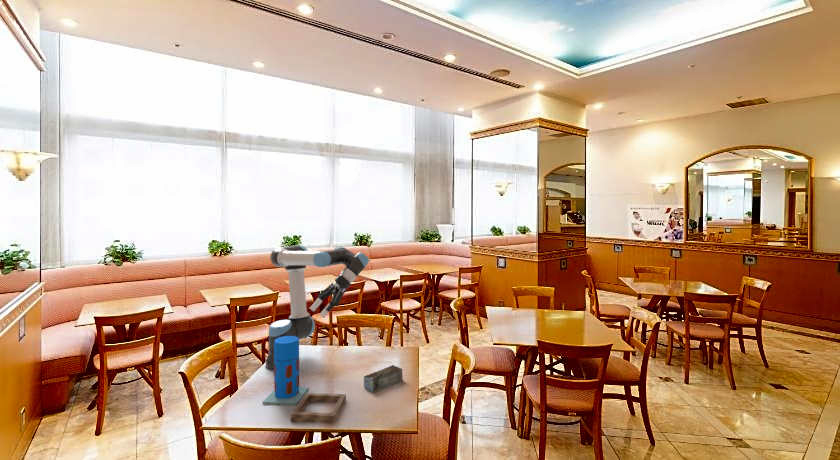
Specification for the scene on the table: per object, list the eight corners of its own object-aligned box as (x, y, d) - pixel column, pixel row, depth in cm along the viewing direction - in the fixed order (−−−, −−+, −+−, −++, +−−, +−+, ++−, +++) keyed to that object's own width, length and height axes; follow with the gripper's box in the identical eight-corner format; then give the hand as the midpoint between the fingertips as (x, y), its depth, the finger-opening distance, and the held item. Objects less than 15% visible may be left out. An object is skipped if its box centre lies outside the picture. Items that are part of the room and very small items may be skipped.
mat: (262, 404, 166) (262, 401, 166) (277, 388, 181) (277, 386, 181) (296, 405, 165) (296, 403, 165) (308, 389, 180) (308, 387, 180)
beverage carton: (362, 388, 183) (362, 374, 182) (393, 376, 196) (393, 363, 196) (373, 393, 177) (373, 379, 177) (403, 381, 191) (403, 368, 190)
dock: (290, 421, 153) (290, 414, 152) (306, 399, 171) (306, 392, 170) (334, 423, 152) (334, 415, 151) (346, 400, 170) (346, 394, 169)
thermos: (303, 388, 179) (302, 336, 178) (293, 399, 168) (292, 344, 167) (281, 387, 180) (280, 335, 179) (269, 398, 169) (269, 343, 168)
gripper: (361, 287, 182) (331, 323, 174) (340, 279, 202) (312, 311, 194) (351, 277, 179) (320, 314, 171) (330, 270, 199) (302, 303, 191)
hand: (316, 313), depth 182 cm, fingers open, 13 cm apart
